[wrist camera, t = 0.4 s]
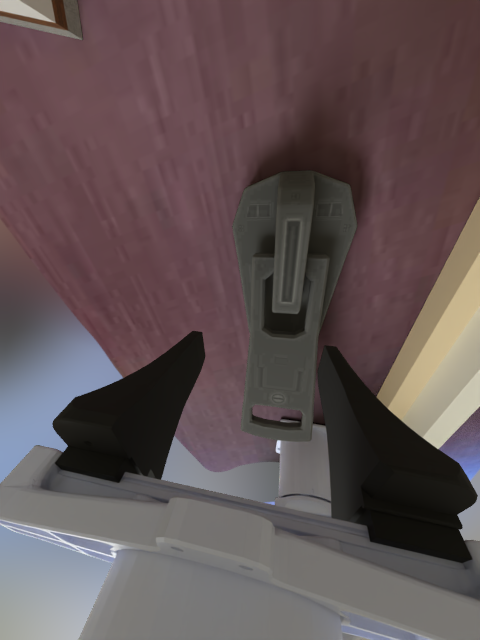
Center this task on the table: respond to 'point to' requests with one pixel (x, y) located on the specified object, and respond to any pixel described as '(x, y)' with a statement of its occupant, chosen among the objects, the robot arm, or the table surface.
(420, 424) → the cream rectangular bar
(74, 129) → the table surface
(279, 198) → the zipper pull
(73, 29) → the white square tower
